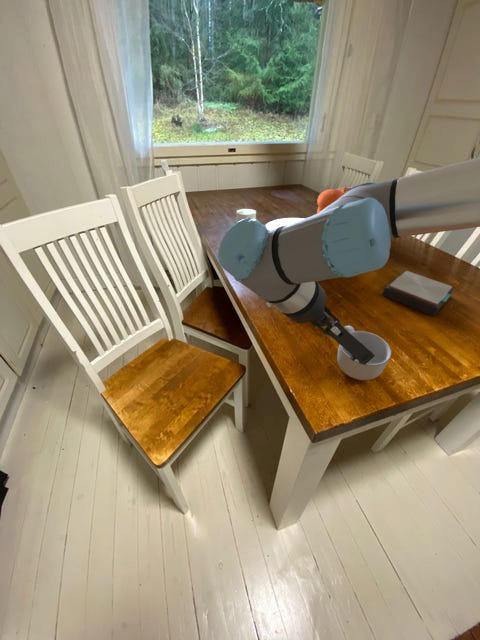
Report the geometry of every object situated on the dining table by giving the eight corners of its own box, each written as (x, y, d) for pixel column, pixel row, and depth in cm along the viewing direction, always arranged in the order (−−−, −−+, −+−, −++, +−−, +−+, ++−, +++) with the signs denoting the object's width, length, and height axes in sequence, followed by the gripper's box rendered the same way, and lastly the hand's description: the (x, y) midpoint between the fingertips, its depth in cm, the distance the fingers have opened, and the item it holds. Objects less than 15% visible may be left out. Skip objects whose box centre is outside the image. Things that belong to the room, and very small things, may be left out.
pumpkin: (330, 240, 128) (341, 195, 116) (304, 224, 144) (310, 183, 132) (368, 233, 135) (381, 190, 123) (338, 219, 152) (348, 179, 139)
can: (233, 234, 133) (233, 208, 125) (250, 231, 136) (250, 206, 129) (241, 241, 126) (241, 214, 119) (258, 238, 130) (260, 212, 122)
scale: (450, 297, 91) (456, 287, 89) (434, 317, 83) (441, 306, 80) (401, 278, 101) (405, 269, 98) (382, 295, 92) (386, 285, 89)
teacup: (386, 387, 62) (400, 363, 57) (339, 386, 62) (348, 363, 57) (365, 345, 73) (375, 322, 68) (325, 344, 73) (331, 321, 68)
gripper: (247, 276, 54) (300, 317, 68) (326, 362, 36) (375, 393, 50) (273, 246, 52) (321, 295, 67) (369, 322, 35) (407, 366, 49)
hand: (345, 337), depth 59 cm, fingers open, 13 cm apart
